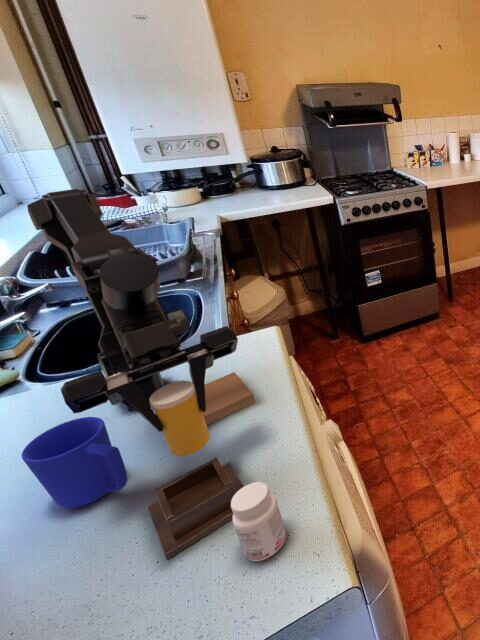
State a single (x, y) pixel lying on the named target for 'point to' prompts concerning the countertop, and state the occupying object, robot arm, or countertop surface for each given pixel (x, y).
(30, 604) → the countertop surface
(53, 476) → the mug
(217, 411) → the wooden pad
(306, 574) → the countertop surface
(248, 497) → the pill bottle
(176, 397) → the yellow canister
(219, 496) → the stand
